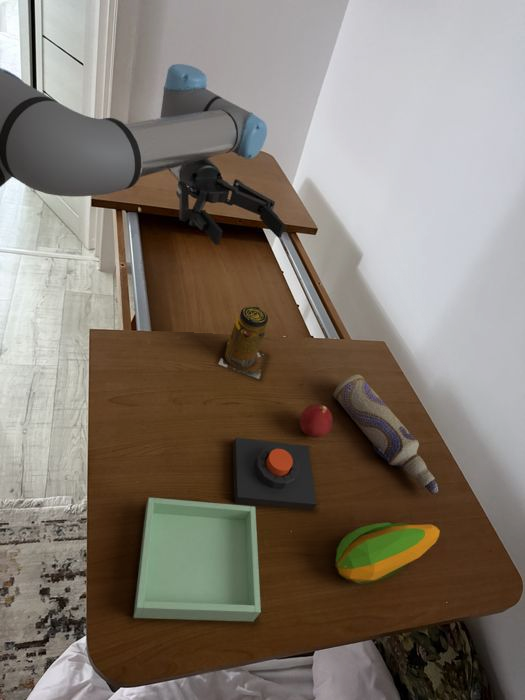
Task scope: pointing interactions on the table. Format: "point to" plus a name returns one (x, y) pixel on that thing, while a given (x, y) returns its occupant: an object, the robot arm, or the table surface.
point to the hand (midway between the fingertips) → (251, 234)
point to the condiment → (246, 340)
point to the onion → (316, 420)
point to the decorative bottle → (383, 429)
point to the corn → (382, 550)
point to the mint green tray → (198, 562)
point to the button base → (272, 476)
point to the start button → (279, 462)
